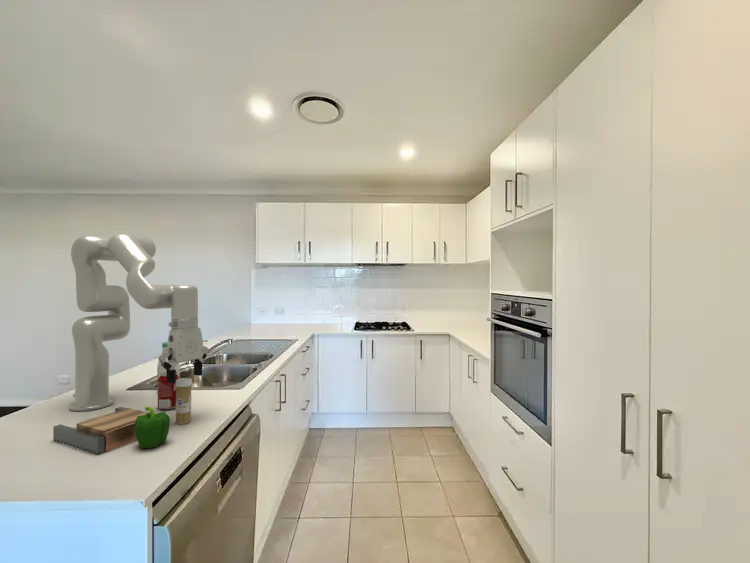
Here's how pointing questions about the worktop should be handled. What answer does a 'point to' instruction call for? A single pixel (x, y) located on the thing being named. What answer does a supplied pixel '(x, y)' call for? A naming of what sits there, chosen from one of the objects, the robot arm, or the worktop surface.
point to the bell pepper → (151, 428)
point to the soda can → (166, 393)
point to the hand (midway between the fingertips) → (185, 378)
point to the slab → (110, 421)
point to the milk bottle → (160, 367)
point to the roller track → (95, 437)
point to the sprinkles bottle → (183, 400)
